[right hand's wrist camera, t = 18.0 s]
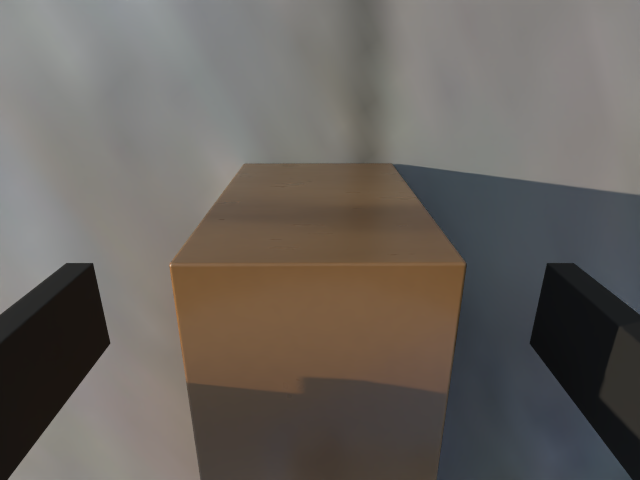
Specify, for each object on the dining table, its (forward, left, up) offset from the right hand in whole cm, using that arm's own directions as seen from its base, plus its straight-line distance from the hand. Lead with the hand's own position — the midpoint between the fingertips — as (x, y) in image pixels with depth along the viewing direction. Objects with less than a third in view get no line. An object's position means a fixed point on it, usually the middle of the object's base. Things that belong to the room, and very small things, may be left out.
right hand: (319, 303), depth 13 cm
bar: (+5, +9, -4) cm, 11 cm away
